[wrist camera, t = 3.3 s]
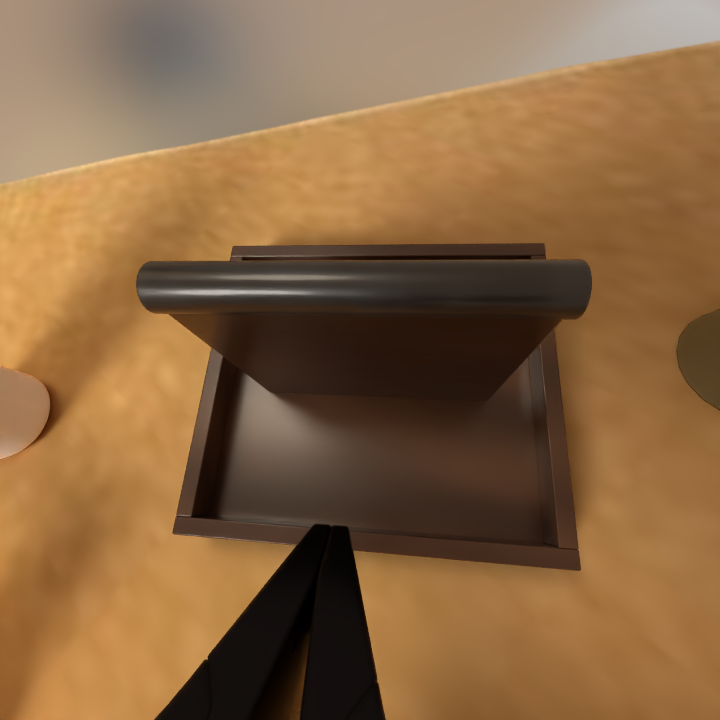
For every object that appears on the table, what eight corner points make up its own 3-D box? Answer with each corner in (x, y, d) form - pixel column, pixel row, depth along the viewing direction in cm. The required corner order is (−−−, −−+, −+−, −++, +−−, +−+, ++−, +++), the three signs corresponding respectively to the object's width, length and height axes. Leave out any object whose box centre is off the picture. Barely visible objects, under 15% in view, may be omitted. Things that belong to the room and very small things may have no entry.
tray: (557, 560, 18) (829, 677, 6) (199, 529, 20) (-68, 575, 9) (529, 269, 23) (653, 50, 12) (248, 269, 25) (123, 85, 14)
